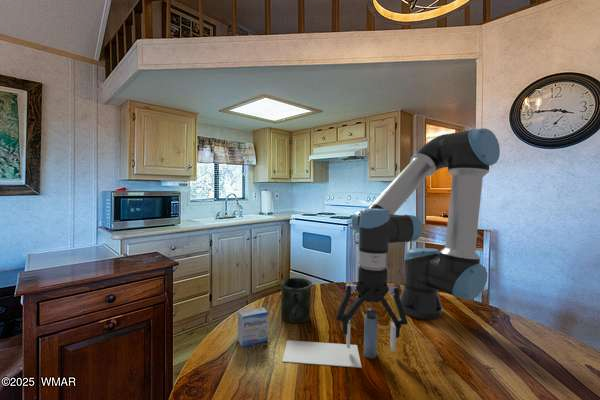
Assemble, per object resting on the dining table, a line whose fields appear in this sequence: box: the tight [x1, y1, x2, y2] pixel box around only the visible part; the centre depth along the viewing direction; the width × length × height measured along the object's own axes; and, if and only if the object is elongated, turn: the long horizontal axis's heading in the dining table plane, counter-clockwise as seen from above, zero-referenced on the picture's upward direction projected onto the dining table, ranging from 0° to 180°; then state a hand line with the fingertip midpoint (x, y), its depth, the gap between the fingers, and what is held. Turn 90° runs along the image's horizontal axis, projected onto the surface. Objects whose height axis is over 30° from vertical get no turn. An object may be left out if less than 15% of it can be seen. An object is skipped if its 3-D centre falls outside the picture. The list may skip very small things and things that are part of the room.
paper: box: [282, 339, 363, 369], centre depth 77 cm, size 20×10×1 cm, turn 85°
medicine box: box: [237, 306, 269, 348], centre depth 82 cm, size 8×4×9 cm, turn 117°
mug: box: [280, 277, 313, 324], centre depth 96 cm, size 11×15×12 cm
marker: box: [363, 307, 379, 359], centre depth 76 cm, size 3×3×12 cm
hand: (370, 347), depth 76 cm, fingers open, 11 cm apart
